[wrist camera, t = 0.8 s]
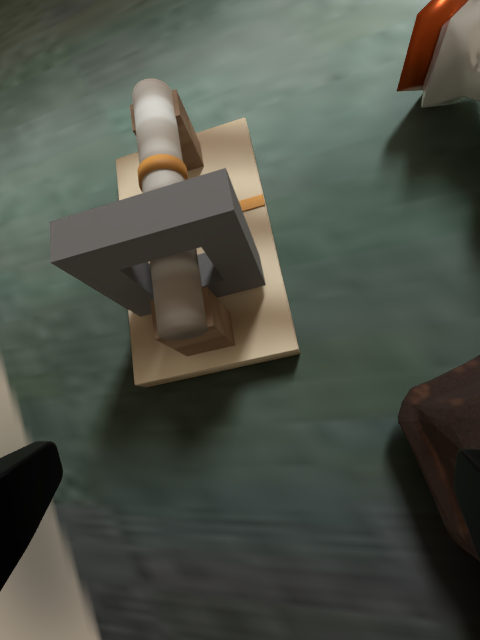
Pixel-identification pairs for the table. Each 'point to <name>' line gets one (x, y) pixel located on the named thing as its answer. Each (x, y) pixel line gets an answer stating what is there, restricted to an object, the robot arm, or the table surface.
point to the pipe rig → (183, 268)
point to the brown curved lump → (445, 437)
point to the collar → (160, 240)
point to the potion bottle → (444, 53)
